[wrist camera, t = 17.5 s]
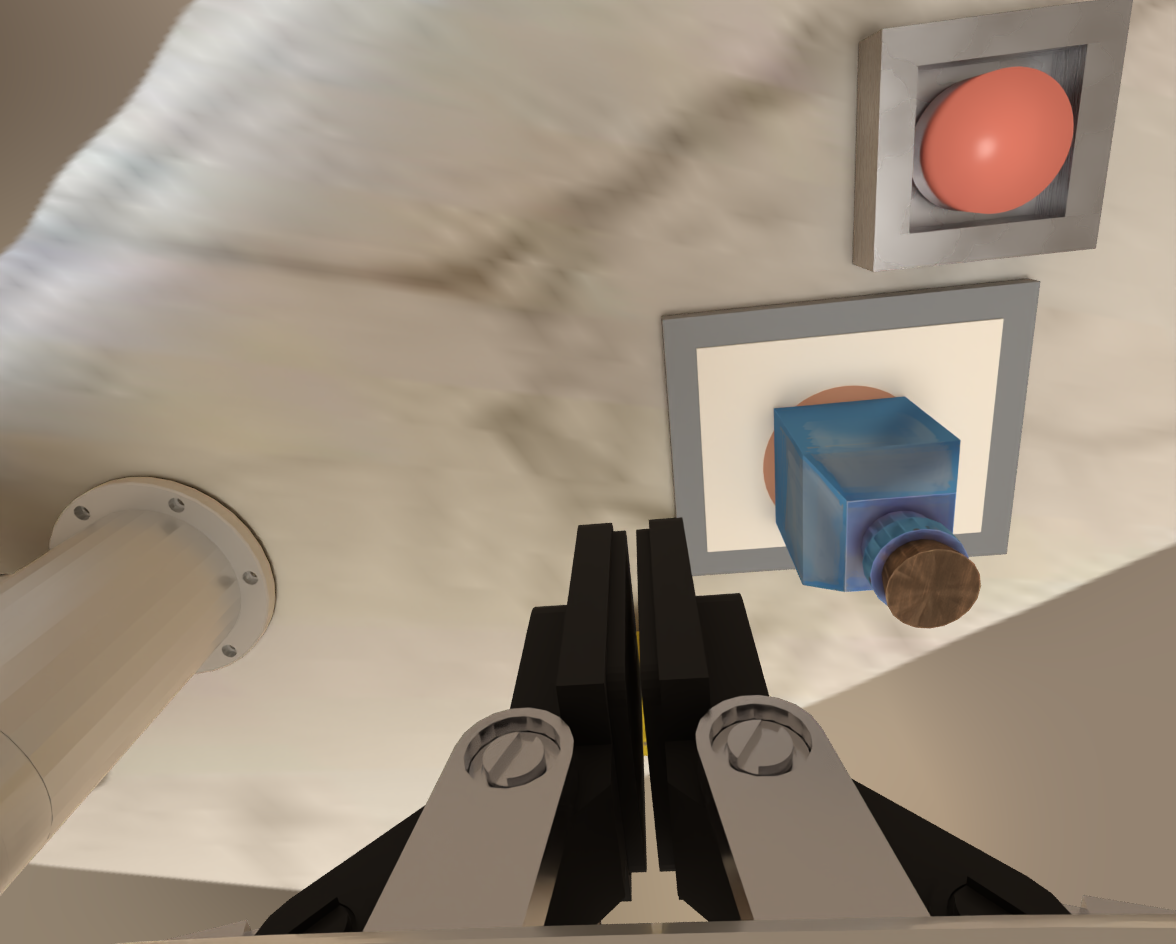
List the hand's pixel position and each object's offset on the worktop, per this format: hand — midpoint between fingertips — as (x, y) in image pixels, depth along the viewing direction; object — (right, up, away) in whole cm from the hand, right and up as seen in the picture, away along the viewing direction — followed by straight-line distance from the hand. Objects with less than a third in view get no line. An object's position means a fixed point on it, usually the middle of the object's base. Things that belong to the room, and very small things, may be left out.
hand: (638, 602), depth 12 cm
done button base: (+15, +16, +20) cm, 30 cm away
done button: (+15, +16, +19) cm, 29 cm away
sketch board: (+12, +4, +25) cm, 28 cm away
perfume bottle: (+12, +3, +24) cm, 27 cm away
